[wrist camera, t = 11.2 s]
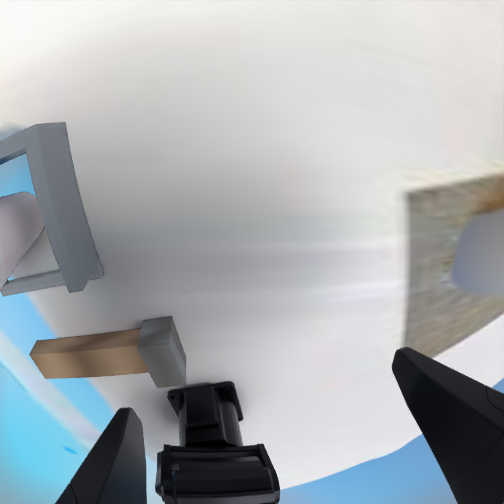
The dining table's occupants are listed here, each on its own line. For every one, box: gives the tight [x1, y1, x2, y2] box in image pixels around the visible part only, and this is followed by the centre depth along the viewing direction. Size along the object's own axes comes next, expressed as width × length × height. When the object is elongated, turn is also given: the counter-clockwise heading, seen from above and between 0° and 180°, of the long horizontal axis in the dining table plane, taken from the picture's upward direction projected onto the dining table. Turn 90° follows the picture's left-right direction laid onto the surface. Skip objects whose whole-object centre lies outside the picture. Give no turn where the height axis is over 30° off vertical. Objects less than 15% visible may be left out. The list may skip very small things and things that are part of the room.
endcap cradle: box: [0, 122, 104, 296], centre depth 15 cm, size 11×10×4 cm
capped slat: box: [29, 316, 186, 388], centre depth 21 cm, size 14×4×3 cm, turn 98°
